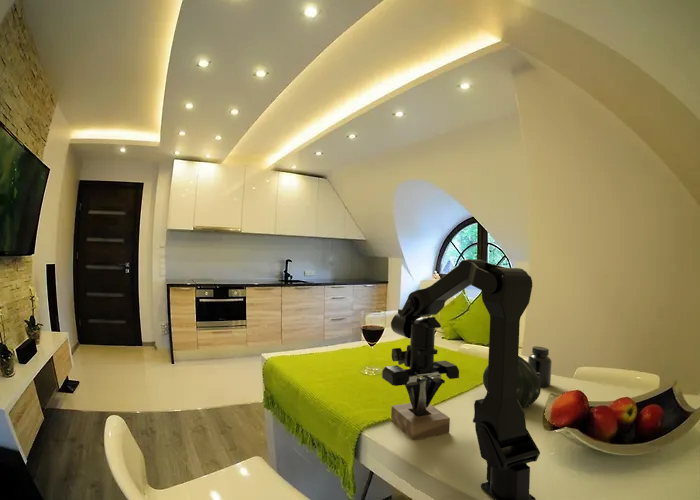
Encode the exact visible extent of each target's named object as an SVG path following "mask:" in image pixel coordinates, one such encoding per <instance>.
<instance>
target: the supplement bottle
mask: <svg viewBox="0 0 700 500" xmlns="http://www.w3.org/2000/svg"><path fill="white" fill-rule="evenodd" d="M549 350H550V349H549V348H546V347H544V346H543V347H542V346H537V345H535V346H532V351H531V353H532V354H530V355H529V356H528V361H527V362H528V363H529V364H530V365H531V366H532V367H533V368H534V370H535V371H536V374H537V376H538V378H539V381H540V387H541V388H549V387H550V386H551V382H552V379H551V378H552V359H551V358H550V357H549V356H550V354H549V352H550V351H549Z"/></svg>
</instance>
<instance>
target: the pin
mask: <svg viewBox="0 0 700 500" xmlns="http://www.w3.org/2000/svg"><path fill="white" fill-rule="evenodd" d="M417 383H419V384H420V390H419V397H418V404H417V408H416V409H414V412H413V414H414V415H416V416H417V417H419V416H425V415H426V402H427V378H425V377H422V376H419V377H417Z"/></svg>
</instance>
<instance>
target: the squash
mask: <svg viewBox="0 0 700 500" xmlns="http://www.w3.org/2000/svg"><path fill="white" fill-rule="evenodd" d="M482 382H483V386H484V388H485V390H486V391H487V384H488V365H487V366H486V367H485V369H484V371H483V373H482ZM541 388H542V387H540V381H539V378H538V376H537V374H536V371H535V370H534V368H533V367H532V366H531V365H530V364H529V363H528V361H527V360H526V359H524V358H523V357H522V356H520V355H518V378H517V400H518V402H519V403H520V405H521V407H522V409H524V408H526V407H528V406H530V405H532V404H534V403H535V402H536V401H537V400H538V398H539V396H540V395H541V392H542V391H541Z"/></svg>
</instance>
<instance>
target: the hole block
mask: <svg viewBox="0 0 700 500" xmlns="http://www.w3.org/2000/svg"><path fill="white" fill-rule="evenodd" d="M413 412H414V409H413V408H412V405H411V402H409V403H408V402H407V403H402V404H401V403H400V404H396V405H395V404H394V405H391V413H390V415H391V417H390V419H391V418H392V420H391V422H393V423H394V424H395V425H396V426H397V427H398V428H399V429H401V430H402V431H403V433H405V434H406V435H407V436H408V437H409V438H410V439H411V440H412V441H415V440H420V439H425V438H429V437H435V436H441V435H445V434H450V427H451V425H450V424H451V423H450V422H451V420H450V419H451V417H449V416H448V415H447V414H445V413H444V412H442V411H441V410H439V408H436V407H435V406H433V405H432V404H431V403H430V404H429V406H428V407H427V408H426V415H425V416H419V417H417V416H416V415H414V414H413Z"/></svg>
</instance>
